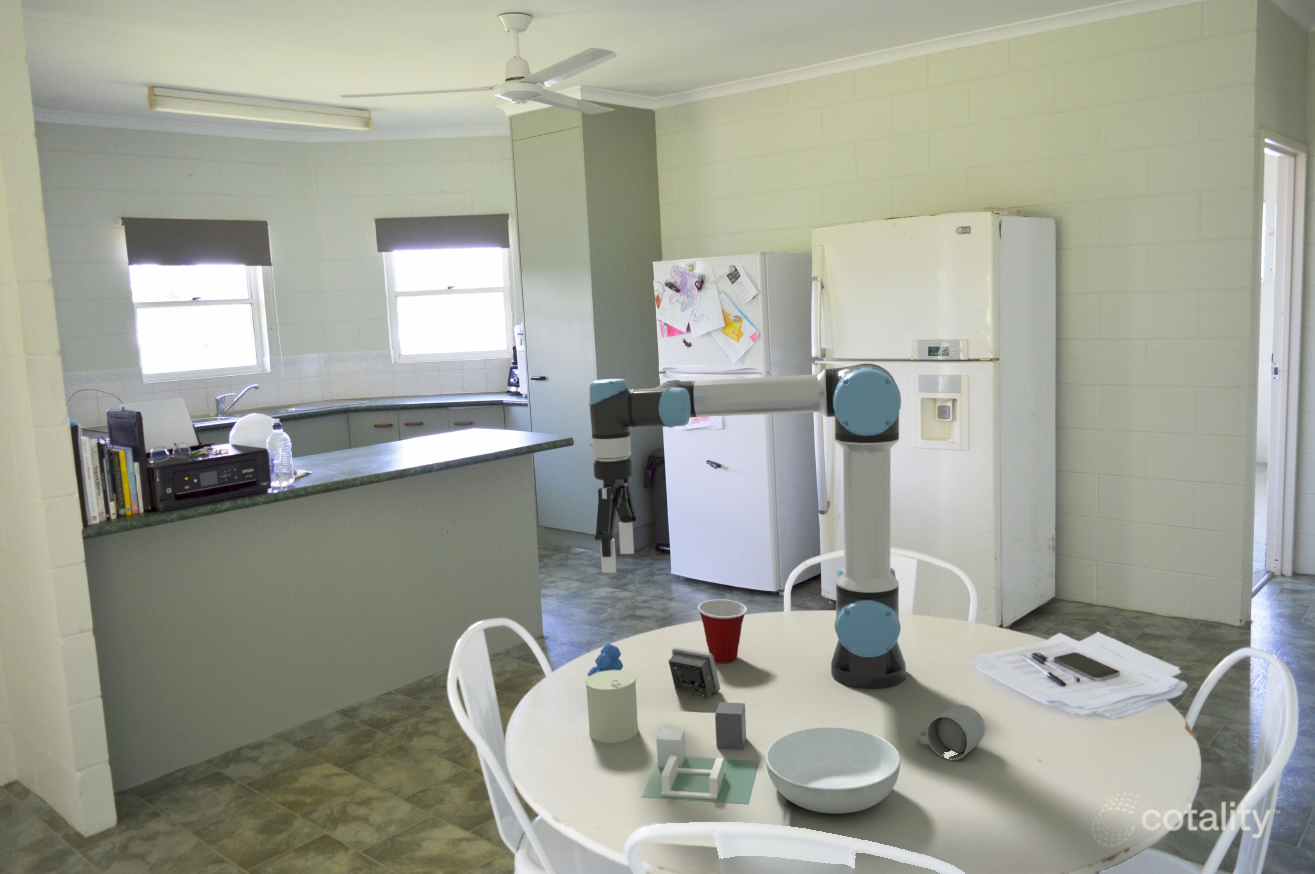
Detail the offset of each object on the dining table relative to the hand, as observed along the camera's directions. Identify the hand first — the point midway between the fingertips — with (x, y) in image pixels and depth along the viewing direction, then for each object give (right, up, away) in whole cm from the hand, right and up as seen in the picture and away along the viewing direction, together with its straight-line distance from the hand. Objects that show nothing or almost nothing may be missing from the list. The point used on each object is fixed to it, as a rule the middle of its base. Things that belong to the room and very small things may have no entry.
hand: (618, 562), depth 194 cm
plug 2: (+21, -30, -24) cm, 44 cm away
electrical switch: (+16, -27, +2) cm, 31 cm away
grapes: (-3, -28, -1) cm, 28 cm away
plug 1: (+10, -30, -30) cm, 43 cm away
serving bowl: (+36, -32, -40) cm, 62 cm away
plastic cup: (+23, -24, +20) cm, 38 cm away
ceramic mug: (+58, -29, -27) cm, 70 cm away
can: (0, -30, -17) cm, 35 cm away
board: (+15, -32, -36) cm, 50 cm away
